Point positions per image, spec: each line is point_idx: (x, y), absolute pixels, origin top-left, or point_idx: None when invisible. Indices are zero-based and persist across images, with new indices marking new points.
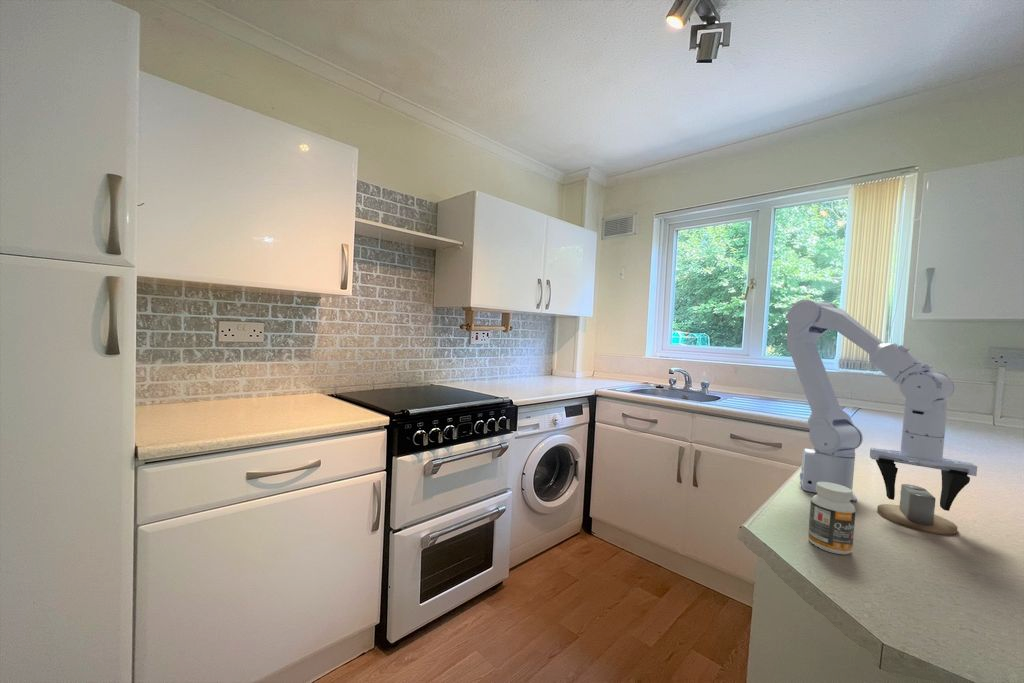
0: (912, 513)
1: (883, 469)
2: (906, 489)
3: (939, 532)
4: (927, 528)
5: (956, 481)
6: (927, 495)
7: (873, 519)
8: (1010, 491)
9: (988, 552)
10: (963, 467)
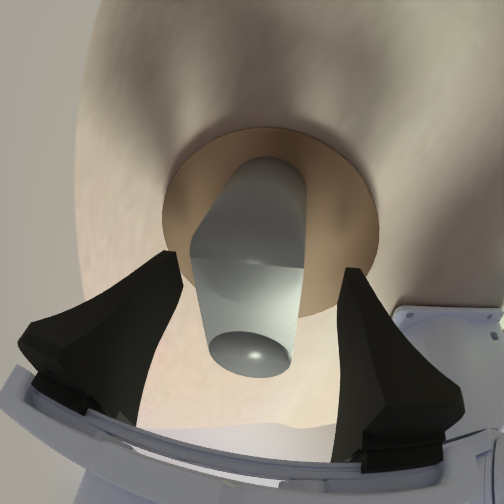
0: (298, 185)
1: (450, 380)
2: (295, 318)
3: (223, 135)
4: (259, 130)
5: (65, 332)
6: (218, 275)
7: (421, 157)
8: None
9: (125, 72)
10: (25, 407)
